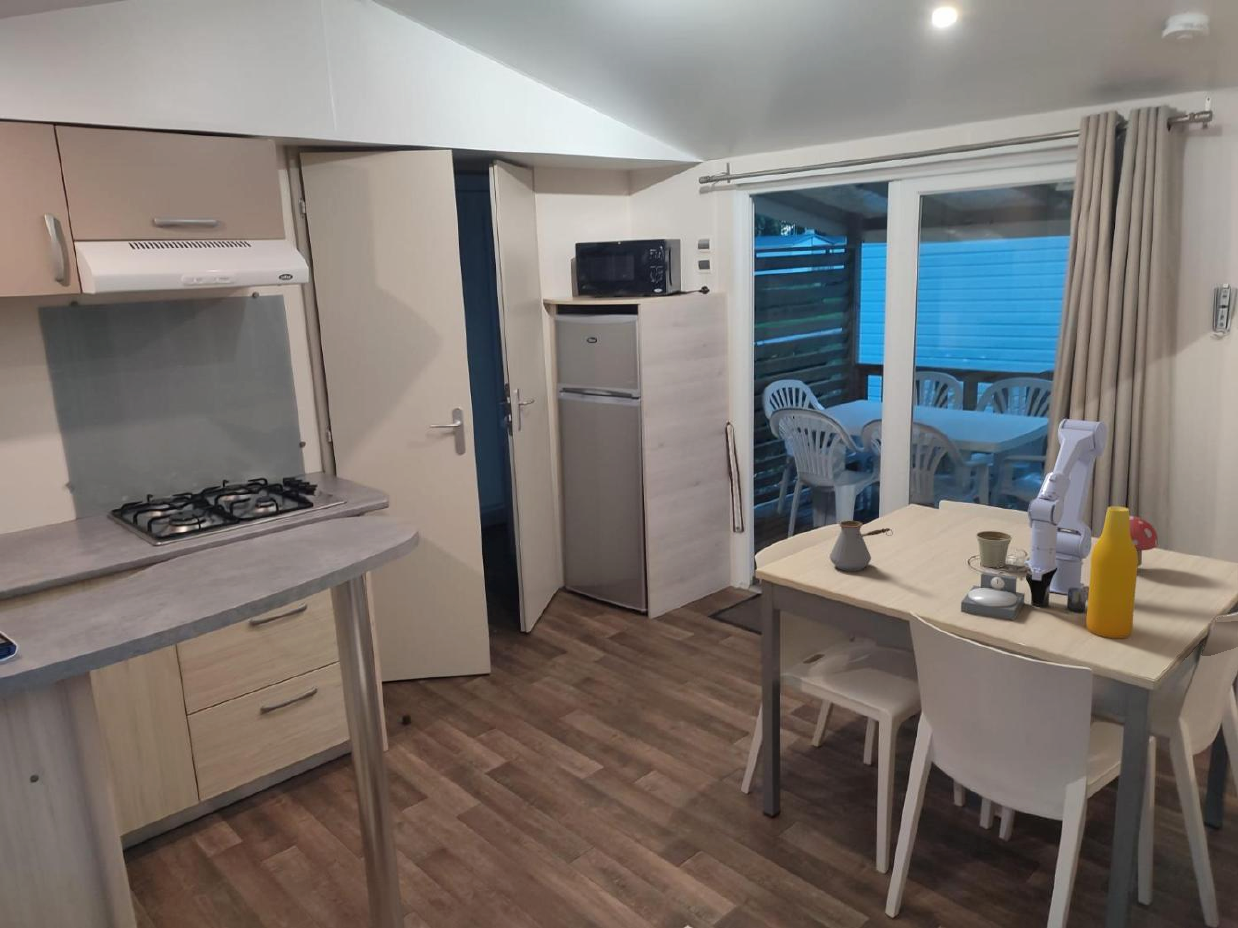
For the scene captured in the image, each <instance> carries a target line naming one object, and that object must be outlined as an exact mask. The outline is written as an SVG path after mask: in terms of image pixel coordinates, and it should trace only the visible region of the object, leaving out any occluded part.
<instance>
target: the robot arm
mask: <svg viewBox="0 0 1238 928" xmlns="http://www.w3.org/2000/svg"><path fill="white" fill-rule="evenodd" d="M1107 437H1108V430H1107V424H1105V423H1104V421H1091V420H1089V421H1088V420H1078V419H1069V418H1064V419H1063V420H1062V421H1061V422H1060V423H1059V426H1058V429H1057V438H1058V443H1059V445H1060V448H1059V451H1058V454H1057V458H1056V461H1055V464H1054V468H1053V471H1050V472H1048V473H1047V474H1046V476H1045V478H1044V481H1043V483H1042V485H1041V487H1040V490H1039V492H1038V494H1037V497H1035V499H1034V498H1033V499H1032V500H1031V501H1030V502H1029V505H1028V509H1027V518H1028V521H1029V523H1028V524H1029V525H1028V526H1029V528H1031V530H1030V532H1031V533H1030V549H1029V560H1025V561H1024V562H1023V565H1024V566H1026V567H1027V566H1028V568H1029V569H1030V571H1031V574H1030V573H1027V574H1026V575H1025V579H1026V582H1027V584H1028V587H1029V589H1030V595H1031V596H1032V601H1033V603H1035V604H1042V603H1043V601H1044V598H1045V593H1046V590H1047V587H1048V585H1049V586H1050V593H1055V594H1062V595H1063V594H1064V595H1068V589H1069V588H1082V589H1084V587H1085V583H1084V582H1081V579H1082V567H1083V560H1084V559H1086V558H1087V557H1088V556H1089V555H1090V552H1091V549H1092V535H1093V532H1092V529H1091V528H1090V527H1089V526H1088V525H1087V524H1086V523H1085V522H1084V521H1083V517H1084V513H1085V508H1086V504H1087V498H1088V493H1089V489H1090V484H1091V481H1092V475H1093V471H1094V470H1093V469H1094V466H1095V462H1096V459H1097V458H1098V457H1100V456H1103V454H1104V450H1105V447H1106V443H1107ZM1031 596H1030V597H1031Z"/></svg>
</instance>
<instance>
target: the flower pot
mask: <svg viewBox="0 0 1238 928" xmlns="http://www.w3.org/2000/svg"><path fill="white" fill-rule="evenodd" d="M975 537H976V538H977V539H976V540H977V542H978V549H979V557H980V565H982V566H983V567H985V566H986V567H985V568H991V567H992V568H994V569H996V568H995V567H1000V566H1004V567H1005V565H1006V559H1007V554H1008V550H1009V545H1010V544H1011V541H1012V539H1013V536H1012V535H1011V534H1009V533H1007V532H1003V531H997V530H984V531H982V530H981V531H979V532H977V533H975Z"/></svg>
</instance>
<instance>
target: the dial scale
mask: <svg viewBox="0 0 1238 928" xmlns="http://www.w3.org/2000/svg"><path fill="white" fill-rule="evenodd" d="M1017 579H1018V578H1017V576H1015V575H1014V576H1013V575H1005V574H1001V573H994V572H985V571H982V573H981V574H980V586H979V585H973V586H972V587H971V589H970V590H969V591H968V592H967V594H966V595H965V596H964V597H963V599H962V600H961V606H960V612H961V613H962V612H964V613H970V614H975V615H979V616H986V617H993V618H999V619H1005V620H1010V621H1014V620H1015V618H1016V617H1017V615H1018V613H1019V612H1020V610H1021V608H1022V607H1023V605H1024V604H1025V593H1024V592H1017V582H1018V581H1017Z"/></svg>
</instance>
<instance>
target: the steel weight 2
mask: <svg viewBox="0 0 1238 928" xmlns="http://www.w3.org/2000/svg"><path fill="white" fill-rule="evenodd" d="M1087 592H1088V591H1087V590H1086V589H1084V588H1083V589H1082V588H1069V589H1068V594H1067V599H1066V600H1067V601H1066V610H1067V611H1068V612H1071V613H1075V614H1083V613H1086V609H1087V608H1086V606H1087V605H1086V604H1087Z"/></svg>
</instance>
